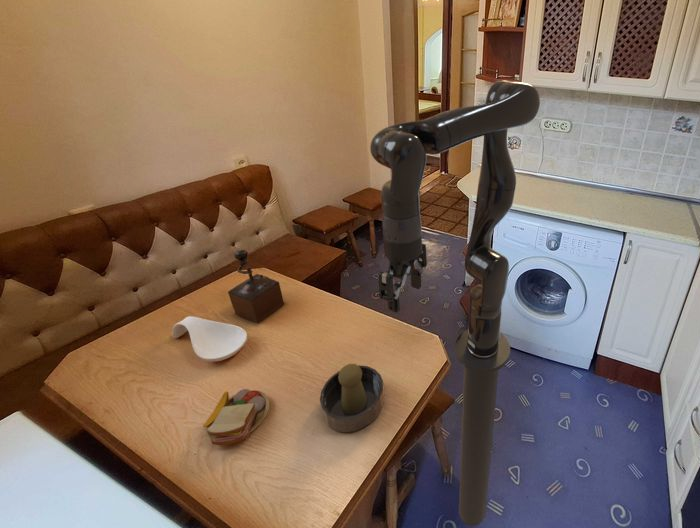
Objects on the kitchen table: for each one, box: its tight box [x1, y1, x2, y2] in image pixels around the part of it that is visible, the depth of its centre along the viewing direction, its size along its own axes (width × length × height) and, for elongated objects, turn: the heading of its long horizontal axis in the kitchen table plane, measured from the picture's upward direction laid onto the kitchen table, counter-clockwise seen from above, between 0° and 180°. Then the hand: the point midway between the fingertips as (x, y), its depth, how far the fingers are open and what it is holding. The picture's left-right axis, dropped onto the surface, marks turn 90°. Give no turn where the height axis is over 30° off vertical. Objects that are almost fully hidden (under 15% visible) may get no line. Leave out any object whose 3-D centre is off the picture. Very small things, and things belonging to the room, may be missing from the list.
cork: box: [338, 363, 367, 414], centre depth 83 cm, size 6×6×11 cm
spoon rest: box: [171, 315, 248, 363], centre depth 99 cm, size 24×12×7 cm, turn 70°
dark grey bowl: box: [319, 364, 385, 433], centre depth 85 cm, size 14×14×5 cm
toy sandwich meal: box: [202, 388, 270, 446], centre depth 81 cm, size 12×14×5 cm
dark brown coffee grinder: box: [227, 249, 285, 325], centre depth 112 cm, size 16×11×18 cm
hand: (405, 298), depth 76 cm, fingers open, 8 cm apart
